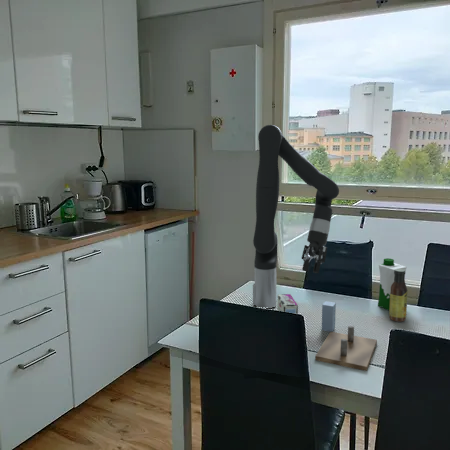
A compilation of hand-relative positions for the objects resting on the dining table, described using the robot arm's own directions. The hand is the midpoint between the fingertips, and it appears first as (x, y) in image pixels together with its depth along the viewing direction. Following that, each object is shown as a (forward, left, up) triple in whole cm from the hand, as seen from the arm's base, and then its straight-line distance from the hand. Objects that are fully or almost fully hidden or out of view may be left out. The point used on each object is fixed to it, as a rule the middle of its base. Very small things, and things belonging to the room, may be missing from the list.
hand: (310, 271), depth 172 cm
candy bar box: (0, -26, -19) cm, 32 cm away
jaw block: (+10, -8, -19) cm, 23 cm away
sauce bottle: (+32, +12, -19) cm, 39 cm away
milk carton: (+28, +24, -19) cm, 41 cm away
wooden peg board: (+20, -23, -19) cm, 36 cm away
